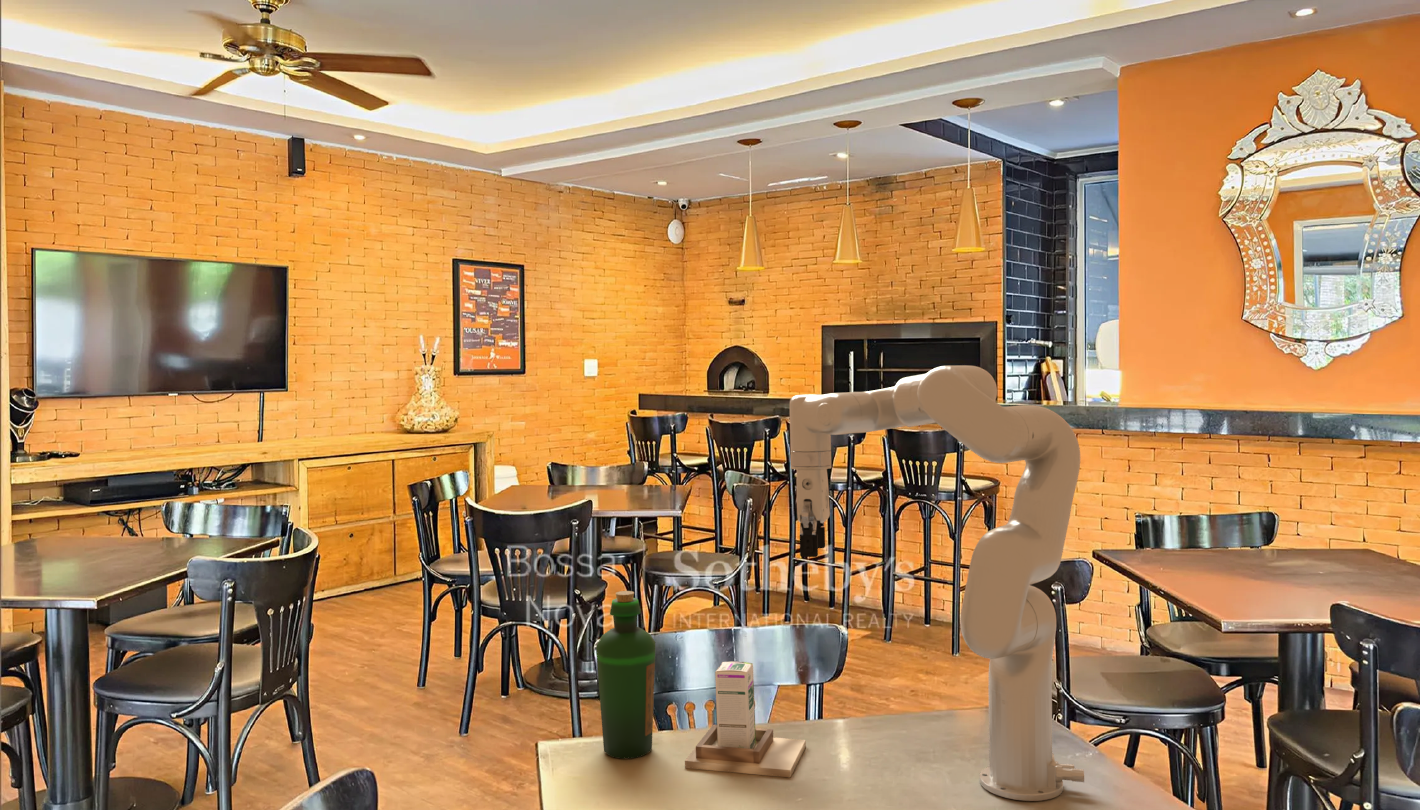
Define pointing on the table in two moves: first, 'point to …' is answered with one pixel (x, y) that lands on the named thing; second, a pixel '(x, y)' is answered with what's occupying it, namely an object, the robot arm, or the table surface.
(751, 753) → the stand board
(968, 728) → the table surface
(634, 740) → the bottle
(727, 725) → the syrup box
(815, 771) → the table surface
